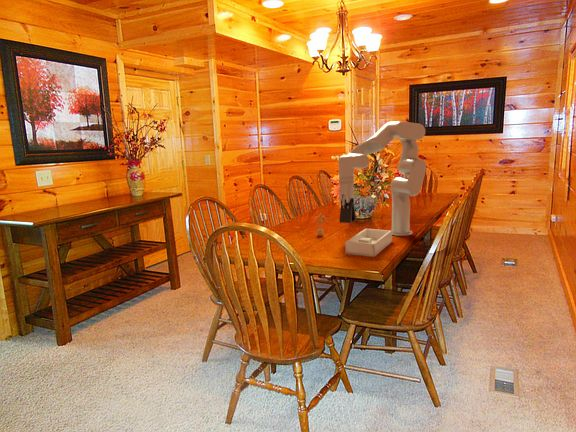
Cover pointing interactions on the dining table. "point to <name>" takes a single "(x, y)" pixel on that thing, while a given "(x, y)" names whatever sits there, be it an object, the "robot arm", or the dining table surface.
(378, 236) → the tote
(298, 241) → the dining table surface
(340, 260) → the dining table surface
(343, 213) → the phone stand
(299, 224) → the dining table surface
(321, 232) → the figurine
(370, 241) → the beige cube
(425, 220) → the dining table surface
